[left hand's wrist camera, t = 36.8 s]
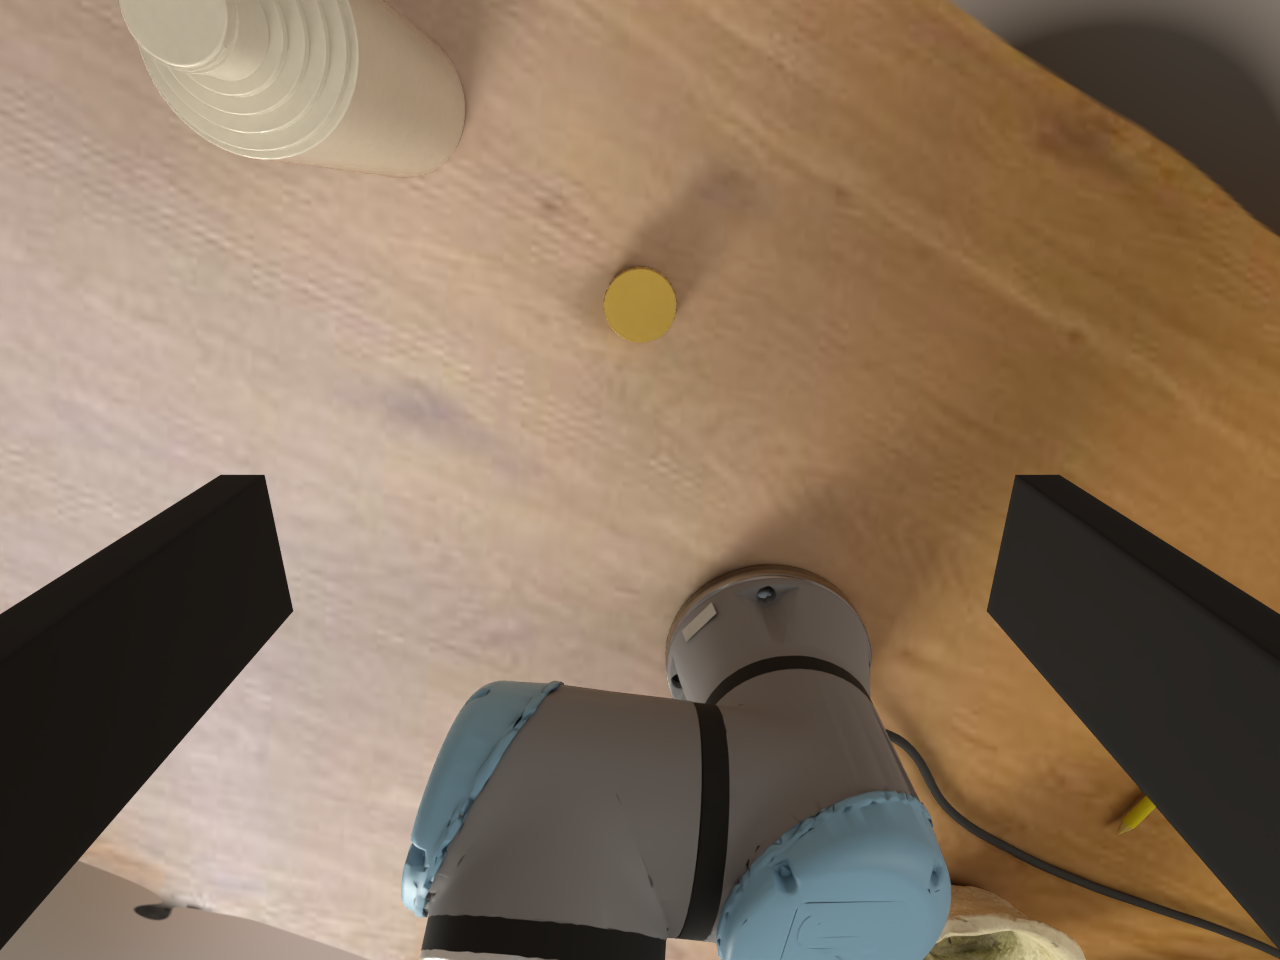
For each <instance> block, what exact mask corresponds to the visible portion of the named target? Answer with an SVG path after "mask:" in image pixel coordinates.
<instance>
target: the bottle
mask: <svg viewBox="0 0 1280 960" xmlns="http://www.w3.org/2000/svg"><path fill="white" fill-rule="evenodd" d="M118 2H119V6H120V10H121V13H122V16H123V19H124V21H125V23H126V25H127V27H128V29H129V31H130V33H131V34H132V36H133V37H134V38H135V40H136V41H137V43H138V47H139V50H140V53H141V56H142V59H143V61H144V64H145V67H146V69H147V71H148V73H149V75H150V77H151V79H152V81H153V83H154V84H155V86H156V88H157V89H158V91H159V92H160V94H161V96H162V97H163V98H164V100H165V101H166V102H167V104H168V105H169V106H170V108H171V109H172V110H173V111H174V112H175V113H176V114H177V115H178V116H179V118H180V119H181V120H182V121H183V122H184V123H185V124H187V125H188V126H189V127H190V128H191V129H192V130H193V131H195V132H196V133H197V134H199V135H200V136H201V137H203V138H204V139H206V140H207V141H209V142H210V143H212V144H214V145H216V146H218V147H220V148H222V149H224V150H226V151H229V152H231V153H234V154H236V155H240V156H244V157H248V158H253V159H261V160H268V161H276V162H283V163H291V164H298V165H306V166H313V167H321V168H329V169H336V170H344V171H351V172H359V173H366V174H374V175H382V176H389V177H397V178H412V177H418V176H422V175H425V174H427V173H429V172H431V171H433V170H435V169H436V168H438V167H439V166H441V165H442V164H443V163H444V162H445V161H446V160H447V159H448V158H449V157H450V155H451V154H452V153H453V151H454V150H455V148H456V146H457V144H458V142H459V140H460V137H461V135H462V131H463V127H464V120H465V100H464V93H463V89H462V85H461V82H460V79H459V76H458V74H457V72H456V70H455V68H454V66H453V64H452V62H451V61H450V59H449V58H448V56H447V55H446V54H445V52H444V51H443V50H442V49H441V48H440V47H439V46H438V45H437V44H436V43H435V42H434V41H433V40H432V39H431V38H429V37H428V36H427V35H426V34H424V33H423V32H422V31H421V30H420V29H418V28H417V27H416V26H415V25H413V24H412V23H411V22H410V21H409V20H407V19H406V18H405V17H404V16H402V15H401V14H400V13H399V12H398V11H396V10H395V9H394V8H393V7H391V6H390V5H389V4H388V3H387V2H385V1H384V0H118Z"/></svg>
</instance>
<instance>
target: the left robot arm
mask: <svg viewBox="0 0 1280 960" xmlns="http://www.w3.org/2000/svg"><path fill="white" fill-rule="evenodd" d="M292 612H293V608H292V603H291V598H290V594H289V589H288V584H287V580H286V575H285V570H284V565H283V561H282V556H281V551H280V546H279V542H278V537H277V532H276V527H275V523H274V518H273V513H272V508H271V504H270V499H269V494H268V489H267V485H266V480H265V475H220V476H218V477H217V478H215V479H213V480H212V481H210V482H209V483H207V484H206V485H204V486H202V487H201V488H199V489H198V490H196V491H194V492H193V493H191V494H190V495H188V496H187V497H185V498H183V499H182V500H180V501H179V502H177V503H176V504H174V505H172V506H171V507H169V508H168V509H166V510H164V511H163V512H161V513H160V514H158V515H157V516H155V517H153V518H152V519H150V520H149V521H147V522H145V523H144V524H142V525H141V526H139V527H138V528H136V529H134V530H133V531H131V532H130V533H128V534H127V535H125V536H123V537H122V538H120V539H119V540H117V541H115V542H114V543H112V544H111V545H109V546H108V547H106V548H104V549H103V550H101V551H100V552H98V553H96V554H95V555H93V556H92V557H90V558H89V559H87V560H85V561H84V562H82V563H81V564H79V565H78V566H76V567H74V568H73V569H71V570H70V571H68V572H66V573H65V574H63V575H62V576H60V577H59V578H57V579H55V580H54V581H52V582H51V583H49V584H47V585H46V586H44V587H43V588H41V589H40V590H38V591H36V592H35V593H33V594H32V595H30V596H29V597H27V598H25V599H24V600H22V601H21V602H19V603H17V604H16V605H14V606H13V607H11V608H10V609H8V610H6V611H5V612H3V613H2V614H0V950H1V949H2V947H3V946H4V945H5V944H6V943H7V942H8V941H9V939H10V938H11V937H12V936H13V935H14V934H15V932H16V931H17V930H18V929H19V928H20V927H21V925H22V924H23V923H24V922H25V921H26V920H27V919H28V917H29V916H30V915H31V914H32V913H33V912H34V910H35V909H36V908H37V907H38V906H39V905H40V903H41V902H42V901H43V900H44V899H45V898H46V897H47V895H48V894H49V893H50V892H51V891H52V890H53V888H54V887H55V886H56V885H57V884H58V883H59V881H60V880H61V879H62V878H63V877H64V876H65V875H66V873H67V872H68V871H69V870H70V869H71V868H72V866H73V865H74V864H75V863H76V862H77V861H78V860H79V858H80V857H81V856H82V855H83V854H84V853H85V851H86V850H87V849H88V848H89V847H90V846H91V844H92V843H93V842H94V841H95V840H96V839H97V838H98V836H99V835H100V834H101V833H102V832H103V831H104V829H105V828H106V827H107V826H108V825H109V824H110V822H111V821H112V820H113V819H114V818H115V817H116V816H117V814H118V813H119V812H120V811H121V810H122V809H123V807H124V806H125V805H126V804H127V803H128V802H129V800H130V799H131V798H132V797H133V796H134V795H135V794H136V792H137V791H138V790H139V789H140V788H141V787H142V785H143V784H144V783H145V782H146V781H147V780H148V779H149V777H150V776H151V775H152V774H153V773H154V772H155V770H156V769H157V768H158V767H159V766H160V765H161V763H162V762H163V761H164V760H165V759H166V758H167V757H168V755H169V754H170V753H171V752H172V751H173V750H174V748H175V747H176V746H177V745H178V744H179V743H180V741H181V740H182V739H183V738H184V737H185V736H186V735H187V733H188V732H189V731H190V730H191V729H192V728H193V726H194V725H195V724H196V723H197V722H198V721H199V719H200V718H201V717H202V716H203V715H204V714H205V713H206V711H207V710H208V709H209V708H210V707H211V706H212V704H213V703H214V702H215V701H216V700H217V699H218V697H219V696H220V695H221V694H222V693H223V692H224V691H225V689H226V688H227V687H228V686H229V685H230V684H231V682H232V681H233V680H234V679H235V678H236V677H237V675H238V674H239V673H240V672H241V671H242V670H243V669H244V667H245V666H246V665H247V664H248V663H249V662H250V660H251V659H252V658H253V657H254V656H255V655H256V654H257V652H258V651H259V650H260V649H261V648H262V647H263V645H264V644H265V643H266V642H267V641H268V640H269V638H270V637H271V636H272V635H273V634H274V633H275V632H276V630H277V629H278V628H279V627H280V626H281V625H282V623H283V622H284V621H285V620H286V619H287V618H288V616H289V615H290V614H291V613H292ZM987 612H988V613H989V614H990V615H991V616H992V618H993V619H994V620H995V621H996V622H997V623H998V625H999V626H1000V627H1001V628H1002V629H1003V630H1004V632H1005V633H1006V634H1007V635H1008V636H1009V637H1010V638H1011V640H1012V641H1013V642H1014V643H1015V644H1016V645H1017V647H1018V648H1019V649H1020V650H1021V651H1022V652H1023V654H1024V655H1025V656H1026V657H1027V658H1028V659H1029V660H1030V662H1031V663H1032V664H1033V665H1034V666H1035V667H1036V669H1037V670H1038V671H1039V672H1040V673H1041V674H1042V675H1043V677H1044V678H1045V679H1046V680H1047V681H1048V682H1049V684H1050V685H1051V686H1052V687H1053V688H1054V689H1055V691H1056V692H1057V693H1058V694H1059V695H1060V696H1061V697H1062V699H1063V700H1064V701H1065V702H1066V703H1067V704H1068V706H1069V707H1070V708H1071V709H1072V710H1073V711H1074V713H1075V714H1076V715H1077V716H1078V717H1079V718H1080V719H1081V721H1082V722H1083V723H1084V724H1085V725H1086V726H1087V728H1088V729H1089V730H1090V731H1091V732H1092V733H1093V735H1094V736H1095V737H1096V738H1097V739H1098V740H1099V741H1100V743H1101V744H1102V745H1103V746H1104V747H1105V748H1106V750H1107V751H1108V752H1109V753H1110V754H1111V755H1112V757H1113V758H1114V759H1115V760H1116V761H1117V762H1118V763H1119V765H1120V766H1121V767H1122V768H1123V769H1124V770H1125V772H1126V773H1127V774H1128V775H1129V776H1130V777H1131V779H1132V780H1133V781H1134V782H1135V783H1136V784H1137V785H1138V787H1139V788H1140V789H1141V790H1142V791H1143V792H1144V794H1145V795H1146V796H1147V797H1148V798H1149V799H1150V800H1151V802H1152V803H1153V804H1154V805H1155V806H1156V807H1157V809H1158V810H1159V811H1160V812H1161V813H1162V814H1163V816H1164V817H1165V818H1166V819H1167V820H1168V821H1169V822H1170V824H1171V825H1172V826H1173V827H1174V828H1175V829H1176V831H1177V832H1178V833H1179V834H1180V835H1181V836H1182V838H1183V839H1184V840H1185V841H1186V842H1187V843H1188V844H1189V846H1190V847H1191V848H1192V849H1193V850H1194V851H1195V853H1196V854H1197V855H1198V856H1199V857H1200V858H1201V860H1202V861H1203V862H1204V863H1205V864H1206V865H1207V866H1208V868H1209V869H1210V870H1211V871H1212V872H1213V873H1214V875H1215V876H1216V877H1217V878H1218V879H1219V880H1220V882H1221V883H1222V884H1223V885H1224V886H1225V887H1226V888H1227V890H1228V891H1229V892H1230V893H1231V894H1232V895H1233V897H1234V898H1235V899H1236V900H1237V901H1238V902H1239V904H1240V905H1241V906H1242V907H1243V908H1244V909H1245V910H1246V912H1247V913H1248V914H1249V915H1250V916H1251V917H1252V919H1253V920H1254V921H1255V922H1256V923H1257V924H1258V925H1259V927H1260V928H1261V929H1262V930H1263V931H1264V932H1265V934H1266V935H1267V936H1268V937H1269V938H1270V939H1271V941H1272V942H1273V943H1274V944H1275V945H1276V946H1277V947H1278V949H1279V950H1278V949H1276V948H1274V947H1272V946H1270V945H1267V944H1265V943H1263V942H1260V941H1258V940H1255V939H1253V938H1250V937H1248V936H1245V935H1243V934H1240V933H1238V932H1235V931H1233V930H1230V929H1227V928H1225V927H1222V926H1219V925H1217V924H1214V923H1211V922H1208V921H1205V920H1202V919H1199V918H1196V917H1193V916H1190V915H1187V914H1184V913H1181V912H1178V911H1175V910H1172V909H1169V908H1166V907H1163V906H1160V905H1158V904H1155V903H1152V902H1149V901H1146V900H1143V899H1140V898H1137V897H1134V896H1131V895H1128V894H1125V893H1122V892H1119V891H1116V890H1113V889H1110V888H1108V887H1105V886H1102V885H1099V884H1097V883H1094V882H1091V881H1089V880H1086V879H1084V878H1081V877H1079V876H1076V875H1074V874H1071V873H1069V872H1066V871H1064V870H1062V869H1059V868H1057V867H1055V866H1052V865H1050V864H1048V863H1045V862H1043V861H1041V860H1039V859H1037V858H1035V857H1033V856H1031V855H1029V854H1027V853H1025V852H1023V851H1021V850H1019V849H1017V848H1015V847H1014V846H1012V845H1010V844H1008V843H1006V842H1004V841H1002V840H1000V839H999V838H997V837H995V836H993V835H991V834H989V833H987V832H986V831H984V830H982V829H981V828H979V827H977V826H976V825H974V824H973V823H971V822H970V821H969V820H967V819H966V818H965V817H963V816H962V815H961V814H960V813H959V812H957V811H956V810H955V809H954V808H953V807H952V806H951V805H950V804H949V803H948V802H947V800H946V799H945V798H944V796H943V795H942V794H941V792H940V790H939V788H938V787H937V785H936V783H935V781H934V779H933V777H932V775H931V773H930V771H929V769H928V767H927V765H926V763H925V762H924V760H923V759H922V757H921V756H920V754H919V753H918V752H917V750H916V749H915V748H914V747H913V746H912V745H911V744H910V743H909V742H908V741H907V740H906V739H904V738H903V737H901V736H900V735H898V734H896V733H894V732H891V731H889V730H886V729H885V728H884V726H883V724H882V722H881V720H880V718H879V715H878V713H877V711H876V710H875V708H874V706H873V703H872V701H871V699H870V667H871V646H870V641H869V637H868V634H867V631H866V629H865V626H864V624H863V622H862V621H861V619H860V617H859V615H858V613H857V611H856V610H855V608H854V606H853V604H852V603H851V602H850V600H849V599H848V598H847V597H846V596H845V595H844V593H843V592H842V591H841V590H839V589H838V588H837V587H836V586H835V585H833V584H832V583H830V582H829V581H828V580H826V579H824V578H822V577H820V576H819V575H816V574H814V573H812V572H809V571H806V570H803V569H799V568H795V567H790V566H782V565H761V566H753V567H748V568H743V569H739V570H736V571H733V572H730V573H727V574H725V575H723V576H720V577H718V578H717V579H715V580H713V581H711V582H709V583H708V584H706V585H705V586H703V587H702V588H701V589H699V590H698V591H697V592H696V593H695V594H694V595H693V596H691V597H690V598H689V599H688V601H687V602H686V603H685V604H684V605H683V606H682V608H681V609H680V611H679V612H678V614H677V615H676V617H675V619H674V621H673V623H672V625H671V628H670V631H669V634H668V637H667V643H666V671H667V680H668V685H669V689H670V692H671V694H672V697H673V699H669V698H661V697H653V696H644V695H636V694H627V693H619V692H611V691H603V690H596V689H589V688H582V687H575V686H568V685H564V683H562V682H558V681H553V682H550V683H548V684H547V683H528V682H514V681H497V682H493V683H490V684H487V685H485V686H483V687H482V688H480V689H479V690H478V691H477V692H475V693H474V694H473V695H472V696H471V697H470V699H469V700H468V701H467V702H466V704H465V705H464V706H463V708H462V709H461V711H460V712H459V714H458V716H457V717H456V719H455V721H454V723H453V724H452V726H451V728H450V730H449V732H448V734H447V737H446V739H445V741H444V743H443V745H442V748H441V750H440V752H439V754H438V757H437V759H436V762H435V764H434V767H433V769H432V772H431V775H430V777H429V780H428V783H427V786H426V789H425V792H424V794H423V797H422V800H421V803H420V806H419V810H418V813H417V816H416V820H415V823H414V827H413V830H412V835H411V841H412V844H411V846H410V849H409V852H408V856H407V859H406V862H405V865H404V869H403V875H402V884H401V896H402V901H403V903H404V904H405V906H406V908H407V909H409V910H411V911H413V912H414V913H415V915H416V916H417V917H427V916H428V921H427V926H426V931H425V935H424V940H423V944H422V949H421V954H420V960H665V950H666V939H667V938H675V939H676V938H678V939H688V940H698V941H704V942H715V943H717V947H718V956H719V957H720V959H721V960H923V959H924V958H925V957H926V956H927V954H928V953H929V952H930V951H931V950H932V948H933V947H934V945H935V944H936V942H937V940H938V939H939V937H940V935H941V933H942V931H943V929H944V926H945V924H946V922H947V918H948V915H949V910H950V904H951V883H950V877H949V873H948V869H947V866H946V863H945V861H944V858H943V855H942V853H941V850H940V847H939V844H938V842H937V839H936V836H935V833H934V831H933V828H932V827H933V823H932V821H931V817H930V815H929V813H928V810H927V809H926V808H925V807H924V805H923V803H922V802H920V800H919V798H918V796H917V794H916V792H915V790H914V788H913V786H912V784H911V782H910V780H909V778H908V776H907V774H906V772H905V770H904V768H903V766H902V763H901V761H900V759H899V757H898V755H897V753H896V751H895V749H894V747H893V745H892V743H891V741H892V742H894V743H896V744H897V745H899V746H900V747H901V748H903V749H904V750H905V751H906V752H907V753H908V754H909V755H910V756H911V758H912V759H913V760H914V762H915V763H916V765H917V766H918V768H919V770H920V772H921V774H922V776H923V778H924V780H925V782H926V784H927V786H928V788H929V789H930V791H931V793H932V795H933V796H934V798H935V799H936V801H937V802H938V803H939V805H940V806H941V807H942V808H943V810H944V811H945V812H946V813H947V814H948V815H949V816H951V817H952V818H953V819H954V820H955V821H956V822H957V823H959V824H960V825H961V826H963V827H964V828H965V829H967V830H968V831H970V832H971V833H973V834H974V835H976V836H978V837H979V838H981V839H983V840H985V841H986V842H988V843H990V844H992V845H994V846H996V847H998V848H1000V849H1001V850H1003V851H1005V852H1007V853H1009V854H1011V855H1013V856H1015V857H1017V858H1018V859H1020V860H1022V861H1024V862H1026V863H1028V864H1030V865H1032V866H1034V867H1037V868H1039V869H1041V870H1043V871H1045V872H1048V873H1050V874H1052V875H1055V876H1057V877H1059V878H1062V879H1064V880H1067V881H1069V882H1072V883H1074V884H1077V885H1079V886H1082V887H1084V888H1087V889H1089V890H1092V891H1095V892H1097V893H1100V894H1103V895H1106V896H1109V897H1111V898H1114V899H1117V900H1120V901H1123V902H1126V903H1129V904H1132V905H1135V906H1138V907H1141V908H1144V909H1147V910H1150V911H1153V912H1156V913H1159V914H1162V915H1165V916H1168V917H1171V918H1174V919H1177V920H1180V921H1183V922H1186V923H1189V924H1192V925H1195V926H1198V927H1201V928H1204V929H1207V930H1210V931H1213V932H1216V933H1218V934H1221V935H1224V936H1226V937H1229V938H1231V939H1234V940H1237V941H1239V942H1242V943H1244V944H1247V945H1249V946H1252V947H1254V948H1257V949H1259V950H1262V951H1264V952H1266V953H1268V954H1271V955H1273V956H1275V957H1277V958H1279V959H1280V614H1278V613H1277V612H1275V611H1274V610H1272V609H1270V608H1269V607H1267V606H1266V605H1264V604H1263V603H1261V602H1259V601H1258V600H1256V599H1255V598H1253V597H1251V596H1250V595H1248V594H1247V593H1245V592H1244V591H1242V590H1240V589H1239V588H1237V587H1236V586H1234V585H1233V584H1231V583H1229V582H1228V581H1226V580H1225V579H1223V578H1221V577H1220V576H1218V575H1217V574H1215V573H1214V572H1212V571H1210V570H1209V569H1207V568H1206V567H1204V566H1202V565H1201V564H1199V563H1198V562H1196V561H1195V560H1193V559H1191V558H1190V557H1188V556H1187V555H1185V554H1184V553H1182V552H1180V551H1179V550H1177V549H1176V548H1174V547H1172V546H1171V545H1169V544H1168V543H1166V542H1165V541H1163V540H1161V539H1160V538H1158V537H1157V536H1155V535H1153V534H1152V533H1150V532H1149V531H1147V530H1146V529H1144V528H1142V527H1141V526H1139V525H1138V524H1136V523H1135V522H1133V521H1131V520H1130V519H1128V518H1127V517H1125V516H1123V515H1122V514H1120V513H1119V512H1117V511H1116V510H1114V509H1112V508H1111V507H1109V506H1108V505H1106V504H1104V503H1103V502H1101V501H1100V500H1098V499H1097V498H1095V497H1093V496H1092V495H1090V494H1089V493H1087V492H1086V491H1084V490H1082V489H1081V488H1079V487H1078V486H1076V485H1074V484H1073V483H1071V482H1070V481H1068V480H1067V479H1065V478H1063V477H1062V476H1060V475H1015V480H1014V485H1013V489H1012V494H1011V499H1010V504H1009V508H1008V513H1007V518H1006V523H1005V527H1004V532H1003V537H1002V542H1001V546H1000V551H999V556H998V561H997V565H996V570H995V575H994V580H993V584H992V589H991V594H990V598H989V603H988V608H987Z"/></svg>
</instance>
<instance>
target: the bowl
mask: <svg viewBox="0 0 1280 960" xmlns="http://www.w3.org/2000/svg"><path fill="white" fill-rule="evenodd" d="M923 960H1086V959H1085V956H1084V954H1083V951H1082V950H1081V948H1080V946H1079V945H1078V943H1076V941H1075V940H1074V939H1072V938H1070V937H1069V936H1067V935H1066V934H1065V933H1064V932H1062V931H1060V930H1058V929H1056V928H1054V927H1052V926H1050V925H1048V924H1045V923H1043V922H1039V921H1037V920H1034V919H1032V918H1030V917H1028V916H1026V915H1025V914H1023V913H1021V912H1020V911H1018V910H1017V909H1016V908H1015V907H1013V906H1012V905H1011V904H1010V903H1009V902H1008V901H1006V900H1005V899H1003V898H1001V897H999V896H997V895H996V894H994V893H992V892H989V891H986V890H984V889H980V888H977V887H973V886H955V885H951V904H950V910H949V915H948V918H947V922H946V924H945V926H944V929H943V931H942V933H941V935H940V937H939V939H938V940H937V942H936V944H935V945H934V947H933V948H932V950H931V951H930V952H929V953H928V954H927V956H926V957H925V958H924V959H923Z"/></svg>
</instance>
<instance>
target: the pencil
mask: <svg viewBox="0 0 1280 960" xmlns="http://www.w3.org/2000/svg"><path fill="white" fill-rule="evenodd" d="M1155 807H1156V806H1155V805H1154V804H1153V803H1152V802H1151V800H1150V799H1149V798H1148V797H1147V796H1145V797H1144V798H1143V799H1142V800H1141V801H1140V802H1139V803H1138V804H1137V805H1136V806H1135V807H1134V808H1133V809H1132V810H1131V811H1130V812H1129V813H1128V814H1127V815H1126V816H1125V817H1124V818H1123V819H1122V821H1121V824H1120V827H1119V829H1118V832H1117V835H1119V834H1121V833H1124V832H1127V831H1129V830H1132V829H1134V828H1135V827H1136V826H1137V825H1138V824H1139V823H1140V822H1141V821H1142V820H1143V819H1144V818H1145V817H1146V816H1147V815H1148V814H1149V813H1150V812H1151V811H1152V810H1153V809H1154V808H1155Z"/></svg>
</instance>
